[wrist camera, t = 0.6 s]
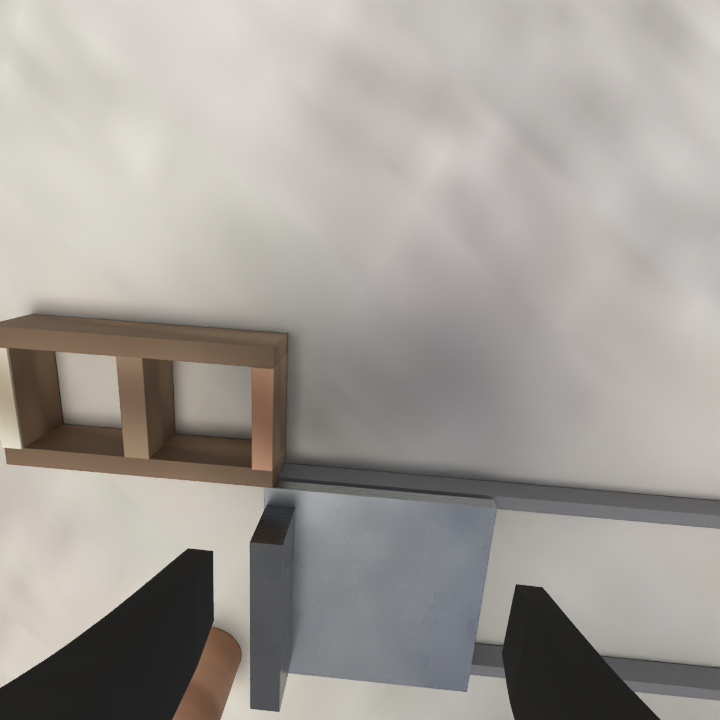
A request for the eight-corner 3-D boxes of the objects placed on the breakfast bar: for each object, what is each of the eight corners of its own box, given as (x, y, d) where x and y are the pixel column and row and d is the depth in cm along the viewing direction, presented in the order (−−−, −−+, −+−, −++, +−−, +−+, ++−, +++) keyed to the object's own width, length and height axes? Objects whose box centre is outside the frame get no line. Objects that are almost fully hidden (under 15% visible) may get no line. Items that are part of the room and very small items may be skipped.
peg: (241, 678, 25) (196, 816, 19) (182, 672, 25) (119, 806, 19) (241, 630, 24) (193, 758, 18) (179, 624, 24) (112, 749, 18)
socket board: (285, 459, 21) (271, 489, 19) (48, 438, 21) (5, 465, 19) (287, 333, 19) (273, 348, 17) (31, 314, 20) (-18, 326, 17)
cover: (464, 679, 22) (476, 748, 19) (266, 658, 22) (248, 722, 19) (493, 499, 19) (512, 547, 16) (268, 479, 20) (246, 522, 17)
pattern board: (728, 679, 23) (746, 703, 22) (274, 632, 24) (267, 653, 23) (790, 507, 20) (815, 524, 19) (276, 462, 21) (269, 476, 20)
